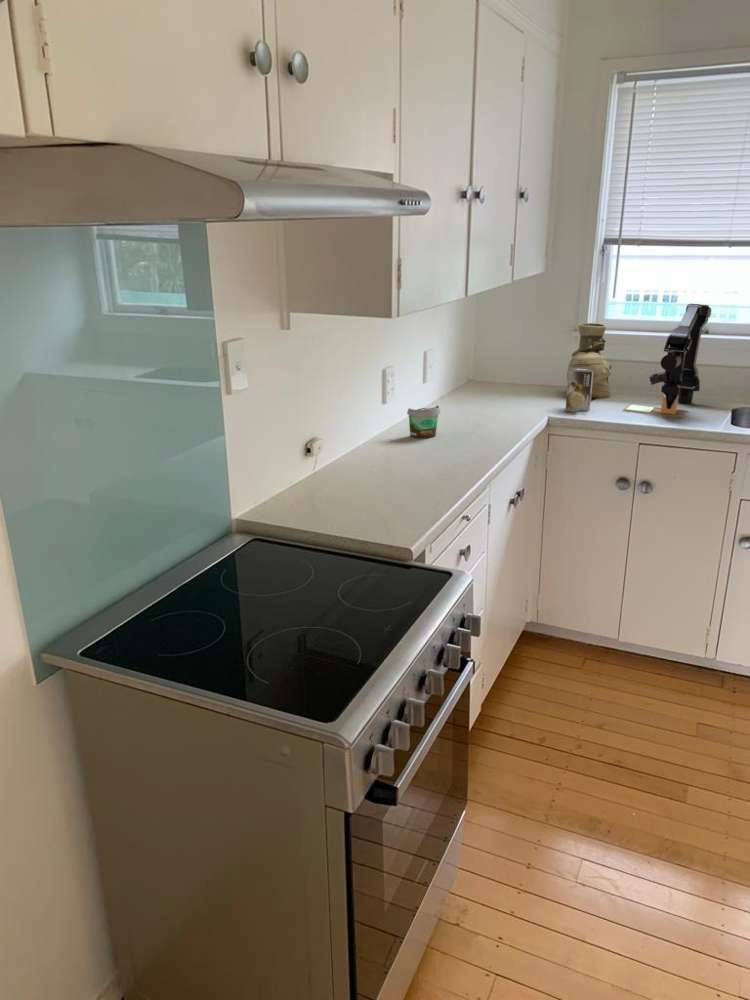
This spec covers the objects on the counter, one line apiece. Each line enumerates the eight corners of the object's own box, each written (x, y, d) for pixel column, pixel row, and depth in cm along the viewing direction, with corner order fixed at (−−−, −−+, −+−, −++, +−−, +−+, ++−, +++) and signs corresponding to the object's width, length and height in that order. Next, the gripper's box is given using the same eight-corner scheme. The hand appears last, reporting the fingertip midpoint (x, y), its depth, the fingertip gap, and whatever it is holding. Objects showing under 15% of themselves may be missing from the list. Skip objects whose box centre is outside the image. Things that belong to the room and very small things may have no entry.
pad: (631, 405, 298) (631, 404, 298) (654, 408, 294) (654, 407, 294) (625, 410, 291) (625, 409, 291) (649, 413, 287) (649, 412, 287)
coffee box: (590, 409, 295) (595, 369, 290) (588, 413, 290) (593, 372, 284) (566, 407, 299) (570, 367, 293) (564, 411, 293) (568, 370, 287)
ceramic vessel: (622, 395, 320) (631, 324, 309) (596, 403, 306) (604, 329, 295) (582, 388, 332) (590, 320, 322) (556, 395, 319) (563, 324, 308)
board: (629, 406, 301) (630, 404, 301) (687, 413, 291) (688, 411, 290) (621, 413, 290) (621, 411, 289) (681, 421, 279) (681, 418, 279)
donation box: (661, 410, 291) (664, 394, 288) (676, 411, 288) (678, 395, 286) (660, 413, 286) (662, 397, 284) (674, 414, 284) (677, 398, 282)
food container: (415, 441, 252) (416, 412, 248) (406, 436, 257) (407, 408, 253) (446, 436, 257) (447, 408, 254) (436, 432, 262) (437, 404, 259)
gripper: (655, 360, 292) (649, 400, 298) (649, 368, 276) (644, 410, 282) (685, 363, 288) (679, 403, 293) (682, 371, 272) (675, 413, 277)
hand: (669, 407), depth 287 cm, fingers closed on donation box, 5 cm apart
